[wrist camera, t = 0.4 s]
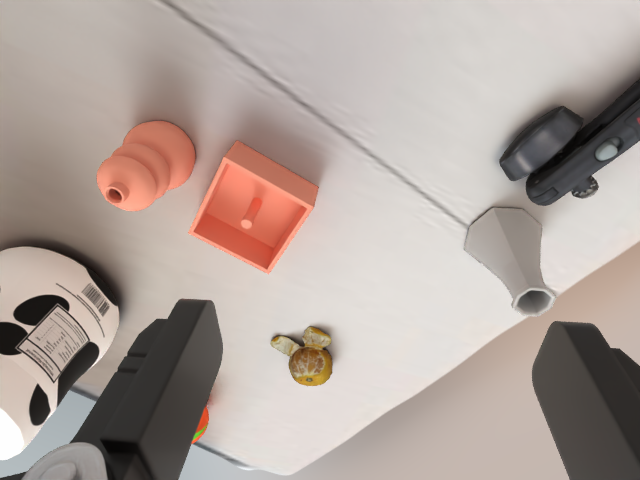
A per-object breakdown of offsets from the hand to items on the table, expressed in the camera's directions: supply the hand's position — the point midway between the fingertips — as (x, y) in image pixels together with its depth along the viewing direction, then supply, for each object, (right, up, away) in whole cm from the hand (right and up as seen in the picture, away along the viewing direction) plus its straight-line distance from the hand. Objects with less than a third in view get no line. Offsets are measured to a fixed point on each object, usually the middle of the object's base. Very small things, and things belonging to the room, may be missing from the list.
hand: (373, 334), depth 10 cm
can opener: (+23, +13, +24) cm, 35 cm away
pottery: (-11, +9, +31) cm, 34 cm away
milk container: (-34, -4, +42) cm, 55 cm away
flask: (+17, +3, +32) cm, 36 cm away
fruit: (-3, -12, +44) cm, 45 cm away
